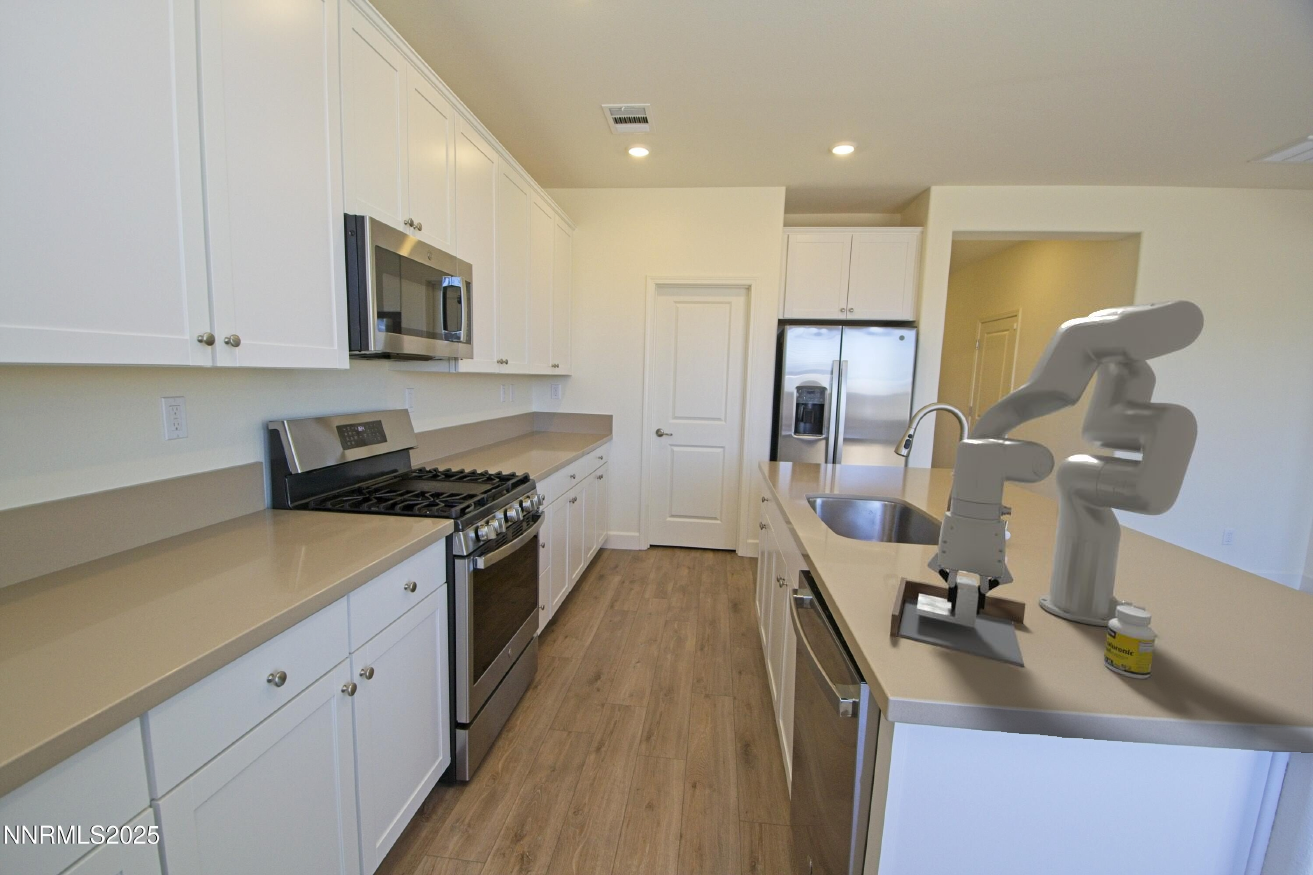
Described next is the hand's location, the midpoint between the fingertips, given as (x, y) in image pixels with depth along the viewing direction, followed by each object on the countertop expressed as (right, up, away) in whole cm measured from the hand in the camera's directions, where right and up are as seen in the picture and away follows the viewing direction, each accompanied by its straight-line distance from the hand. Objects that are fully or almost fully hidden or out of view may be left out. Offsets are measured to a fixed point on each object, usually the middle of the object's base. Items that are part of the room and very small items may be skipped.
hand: (964, 608), depth 91 cm
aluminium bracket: (-3, -1, +2) cm, 3 cm away
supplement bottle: (+19, -6, -11) cm, 23 cm away
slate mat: (-1, -4, +1) cm, 4 cm away
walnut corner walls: (-1, -4, +1) cm, 4 cm away
